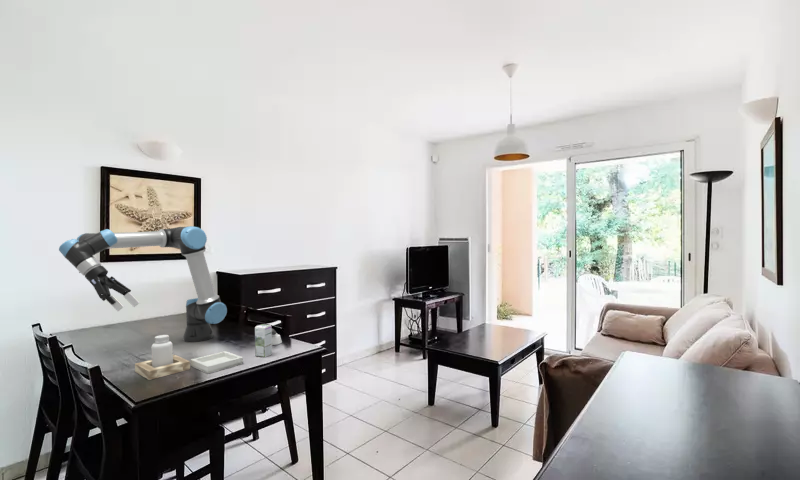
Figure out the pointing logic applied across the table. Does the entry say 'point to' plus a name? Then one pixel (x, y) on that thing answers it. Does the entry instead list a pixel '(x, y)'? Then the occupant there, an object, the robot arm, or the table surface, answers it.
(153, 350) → the pill bottle
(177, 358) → the holder
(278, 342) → the inkwell
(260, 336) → the syrup box
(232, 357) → the tray
